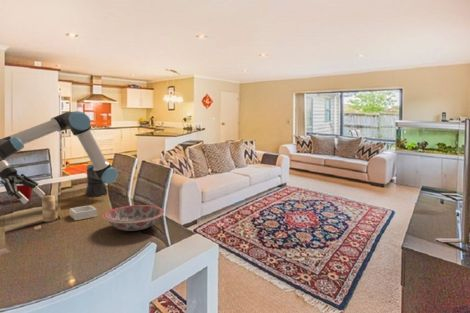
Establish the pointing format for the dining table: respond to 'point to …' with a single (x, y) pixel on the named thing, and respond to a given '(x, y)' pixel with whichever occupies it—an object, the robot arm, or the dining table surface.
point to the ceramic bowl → (133, 217)
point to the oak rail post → (48, 208)
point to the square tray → (83, 212)
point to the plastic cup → (24, 190)
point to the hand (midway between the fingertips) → (35, 198)
